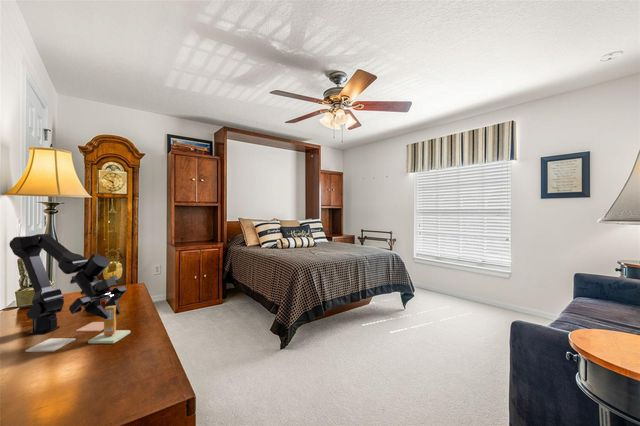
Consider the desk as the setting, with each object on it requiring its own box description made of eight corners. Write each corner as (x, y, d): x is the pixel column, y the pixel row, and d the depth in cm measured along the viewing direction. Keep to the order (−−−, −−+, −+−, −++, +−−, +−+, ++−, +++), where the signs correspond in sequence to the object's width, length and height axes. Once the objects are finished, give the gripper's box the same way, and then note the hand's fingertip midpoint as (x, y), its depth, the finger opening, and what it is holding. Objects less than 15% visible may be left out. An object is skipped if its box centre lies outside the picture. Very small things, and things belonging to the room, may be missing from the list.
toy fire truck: (100, 315, 128) (100, 292, 128) (100, 308, 138) (100, 287, 138) (119, 312, 132) (119, 290, 132) (118, 305, 142) (118, 285, 142)
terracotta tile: (75, 333, 110) (75, 330, 110) (92, 324, 119) (92, 321, 119) (99, 332, 111) (99, 330, 111) (114, 324, 120) (114, 321, 120)
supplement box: (104, 332, 106) (106, 305, 106) (116, 331, 107) (117, 304, 108) (102, 336, 103) (103, 308, 103) (114, 334, 104) (115, 307, 105)
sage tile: (88, 343, 101) (88, 340, 101) (106, 332, 110) (107, 330, 110) (113, 343, 101) (113, 340, 101) (130, 332, 110) (130, 330, 110)
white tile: (25, 353, 94) (25, 350, 94) (49, 341, 103) (49, 338, 103) (53, 352, 95) (53, 349, 95) (75, 340, 104) (75, 338, 104)
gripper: (76, 275, 97) (102, 310, 95) (124, 265, 115) (146, 294, 113) (57, 296, 99) (82, 331, 96) (107, 283, 117) (129, 312, 115)
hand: (113, 315), depth 105 cm, fingers closed on supplement box, 4 cm apart
